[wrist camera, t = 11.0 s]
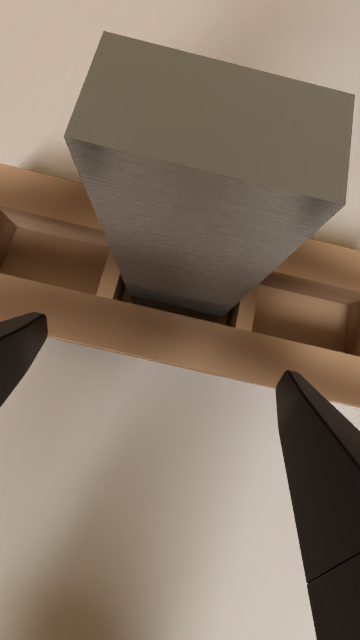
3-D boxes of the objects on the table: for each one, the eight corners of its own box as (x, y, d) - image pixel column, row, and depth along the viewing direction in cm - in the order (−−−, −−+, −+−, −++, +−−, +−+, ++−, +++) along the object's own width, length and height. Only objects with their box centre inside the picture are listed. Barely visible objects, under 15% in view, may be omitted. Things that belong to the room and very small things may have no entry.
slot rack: (351, 406, 19) (399, 414, 15) (-34, 318, 18) (-84, 304, 14) (361, 276, 21) (404, 256, 17) (17, 194, 20) (-15, 153, 16)
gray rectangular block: (216, 322, 18) (345, 204, 5) (132, 303, 18) (63, 136, 5) (223, 283, 19) (355, 94, 6) (143, 264, 19) (103, 31, 6)
